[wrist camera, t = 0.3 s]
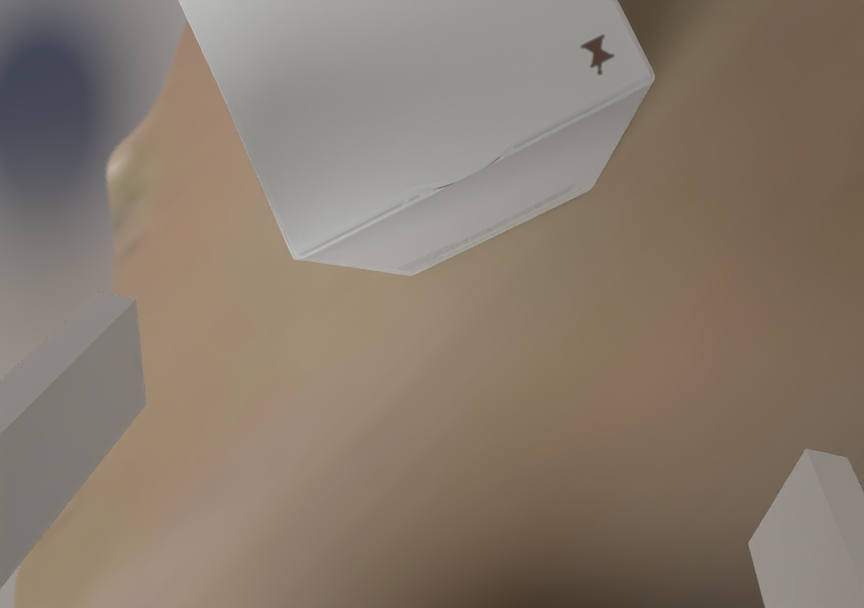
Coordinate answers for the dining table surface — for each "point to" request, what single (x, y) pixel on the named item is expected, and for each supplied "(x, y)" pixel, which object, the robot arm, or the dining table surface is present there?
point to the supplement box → (420, 115)
